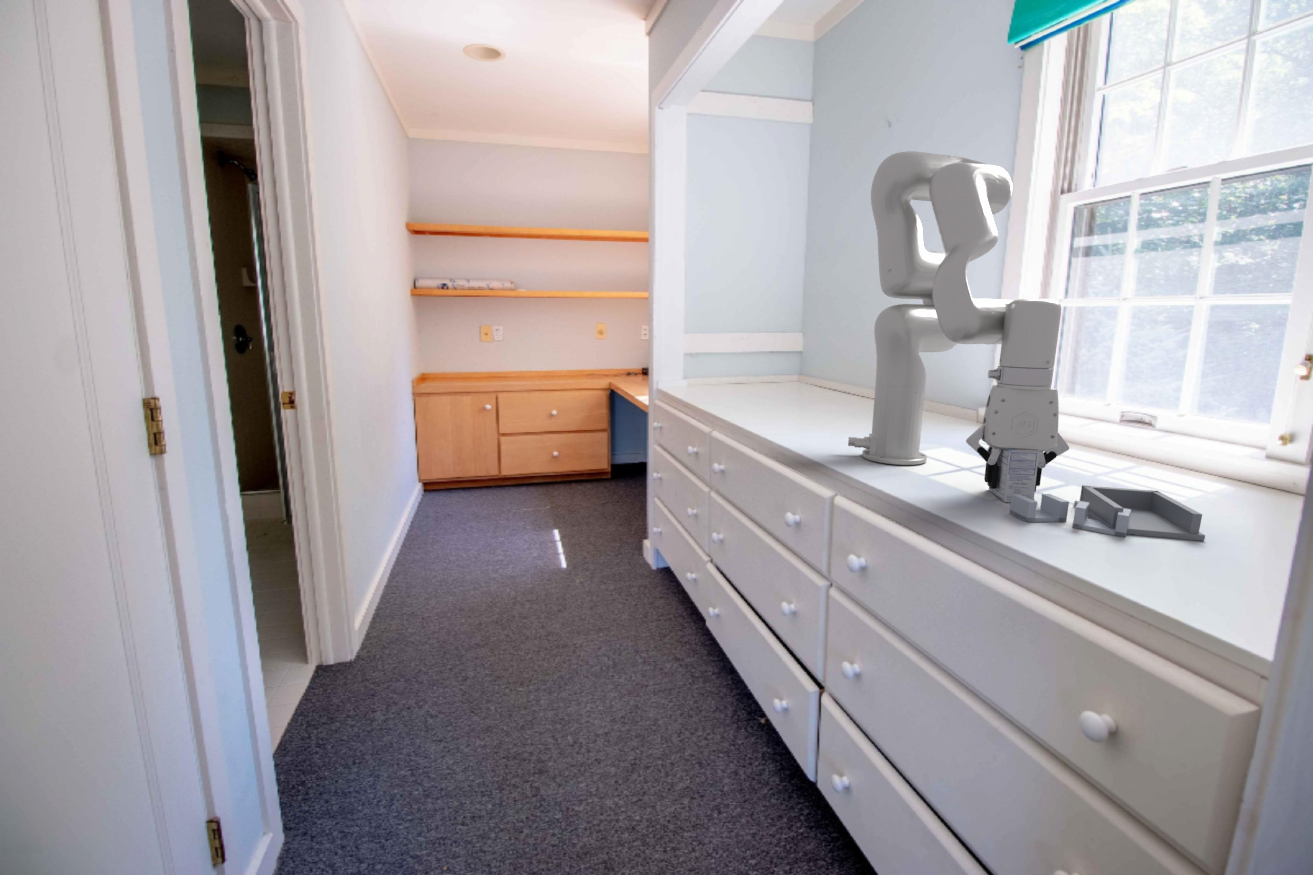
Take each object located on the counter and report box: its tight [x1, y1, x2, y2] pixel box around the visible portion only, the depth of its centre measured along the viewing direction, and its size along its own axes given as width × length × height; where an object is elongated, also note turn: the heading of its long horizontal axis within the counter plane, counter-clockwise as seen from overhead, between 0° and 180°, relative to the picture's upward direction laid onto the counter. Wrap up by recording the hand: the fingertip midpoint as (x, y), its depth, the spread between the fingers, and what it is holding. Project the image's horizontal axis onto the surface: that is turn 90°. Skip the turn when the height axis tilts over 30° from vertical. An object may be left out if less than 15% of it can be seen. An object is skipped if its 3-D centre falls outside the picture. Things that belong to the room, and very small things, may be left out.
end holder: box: [1073, 484, 1206, 542], centre depth 89 cm, size 11×13×4 cm
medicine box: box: [988, 449, 1039, 504], centre depth 101 cm, size 8×4×9 cm, turn 168°
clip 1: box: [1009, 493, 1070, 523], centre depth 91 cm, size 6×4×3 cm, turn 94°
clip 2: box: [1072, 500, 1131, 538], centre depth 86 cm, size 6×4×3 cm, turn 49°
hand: (1010, 487), depth 102 cm, fingers open, 5 cm apart
